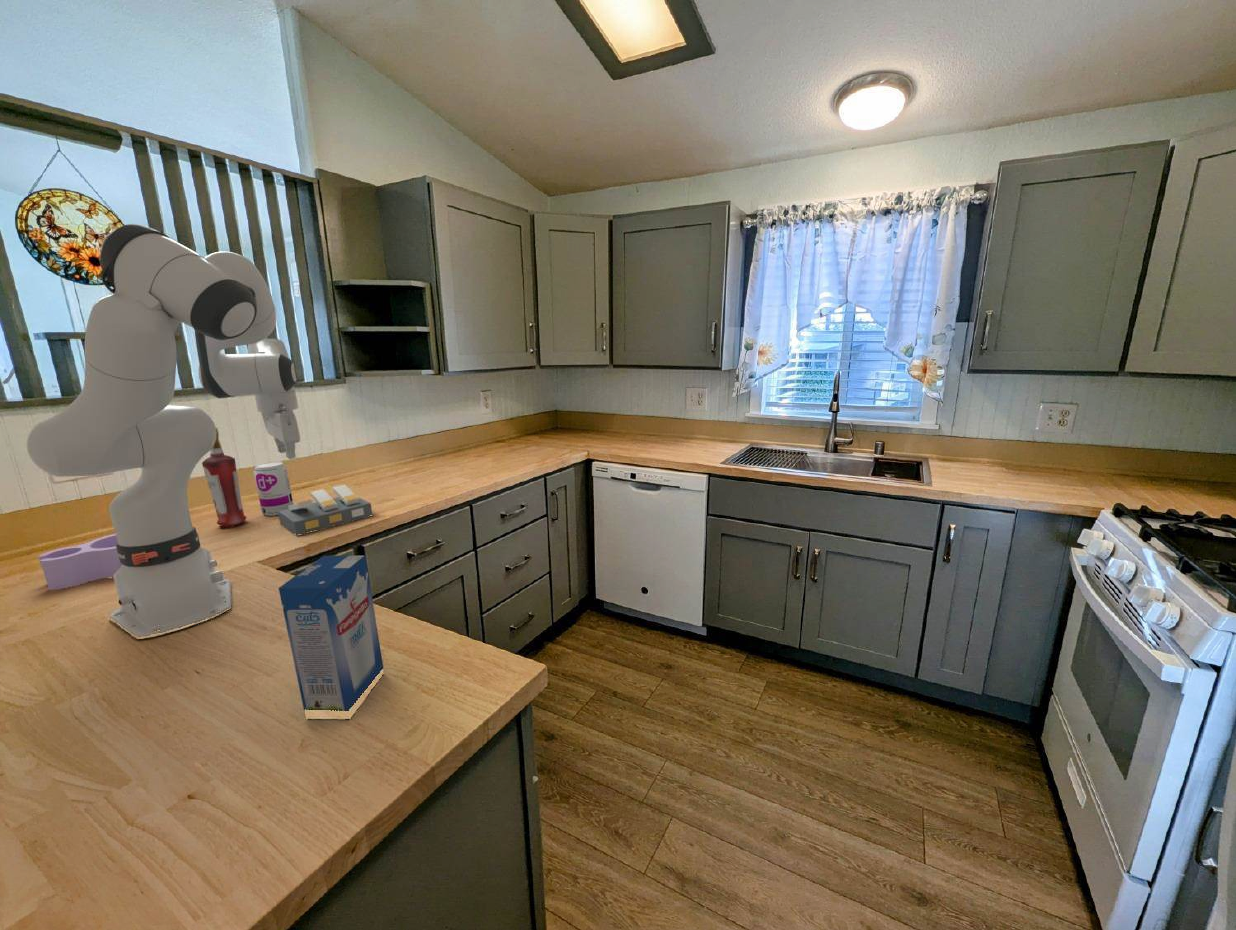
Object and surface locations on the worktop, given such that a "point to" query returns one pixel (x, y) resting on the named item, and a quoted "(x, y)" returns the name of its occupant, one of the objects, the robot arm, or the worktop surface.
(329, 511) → the switch housing
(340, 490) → the rocker
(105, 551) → the lavender double cup holder
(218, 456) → the liquor
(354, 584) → the milk carton
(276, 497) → the supplement can
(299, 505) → the rocker
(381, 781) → the worktop surface
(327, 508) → the rocker
